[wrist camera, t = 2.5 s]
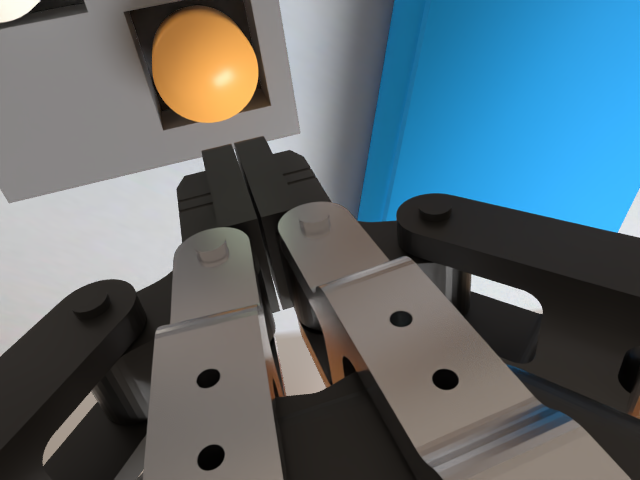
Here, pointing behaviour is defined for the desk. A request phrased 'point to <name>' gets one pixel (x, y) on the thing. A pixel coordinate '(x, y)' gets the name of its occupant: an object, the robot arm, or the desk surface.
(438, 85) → the book
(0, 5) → the button ivory
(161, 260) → the desk surface
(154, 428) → the robot arm
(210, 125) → the panel
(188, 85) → the button orange
